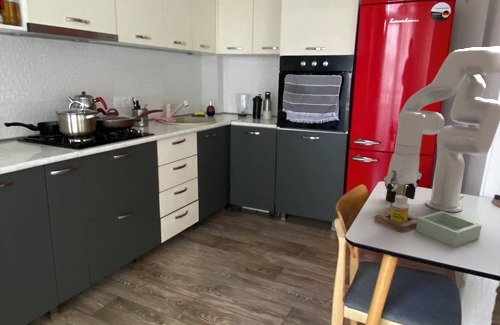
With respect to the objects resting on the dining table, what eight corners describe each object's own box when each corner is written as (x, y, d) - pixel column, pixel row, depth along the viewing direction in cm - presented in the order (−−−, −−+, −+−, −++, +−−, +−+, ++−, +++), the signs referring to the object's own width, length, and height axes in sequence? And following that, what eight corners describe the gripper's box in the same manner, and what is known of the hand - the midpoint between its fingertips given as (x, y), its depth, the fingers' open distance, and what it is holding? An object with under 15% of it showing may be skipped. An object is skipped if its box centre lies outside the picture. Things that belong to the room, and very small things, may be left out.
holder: (395, 215, 128) (396, 209, 128) (422, 226, 119) (423, 220, 119) (374, 220, 123) (374, 215, 123) (401, 232, 114) (401, 227, 113)
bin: (440, 223, 122) (442, 210, 121) (479, 238, 111) (481, 224, 110) (415, 230, 116) (417, 217, 115) (454, 247, 105) (456, 233, 104)
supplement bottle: (407, 222, 122) (411, 196, 120) (405, 228, 118) (409, 200, 115) (390, 219, 125) (394, 193, 122) (388, 224, 120) (392, 197, 118)
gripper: (414, 146, 122) (407, 193, 126) (379, 149, 114) (373, 199, 118) (434, 150, 116) (426, 200, 120) (399, 153, 107) (391, 206, 111)
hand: (399, 199), depth 119 cm, fingers open, 9 cm apart
